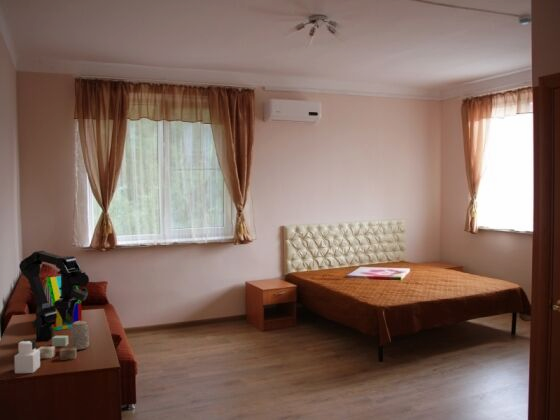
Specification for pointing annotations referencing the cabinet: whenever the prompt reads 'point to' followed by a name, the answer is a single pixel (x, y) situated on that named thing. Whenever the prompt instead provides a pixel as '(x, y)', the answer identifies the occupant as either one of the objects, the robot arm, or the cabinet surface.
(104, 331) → the cabinet surface
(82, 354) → the cabinet surface
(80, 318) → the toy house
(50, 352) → the birch brick
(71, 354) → the walnut brick
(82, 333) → the carving
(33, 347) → the medicine bottle
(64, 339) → the sage brick
